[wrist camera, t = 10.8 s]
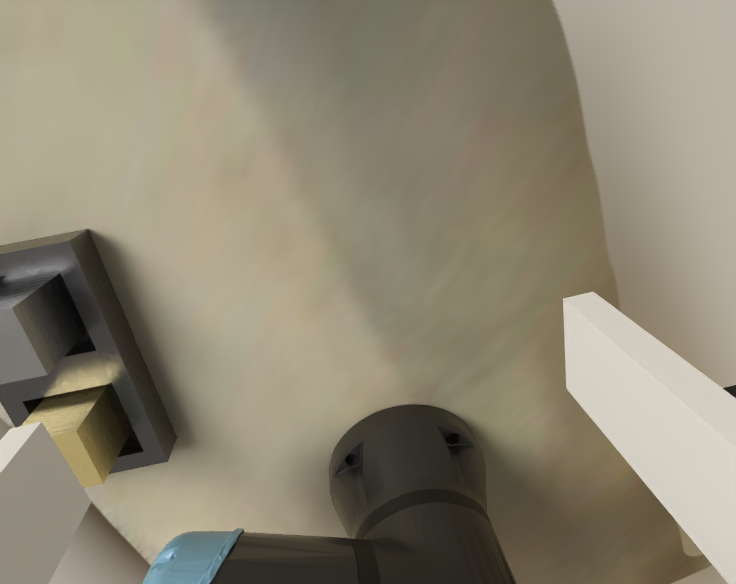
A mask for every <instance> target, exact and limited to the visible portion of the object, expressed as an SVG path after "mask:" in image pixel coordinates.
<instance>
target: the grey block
mask: <svg viewBox="0 0 736 584" xmlns="http://www.w3.org/2000/svg"><path fill="white" fill-rule="evenodd" d="M87 332H88V331H87V329H86V327H85V325H84V323H83V320H82V318H81V316H80V314H79V312H78V310H77V308H76V306H75V303H74V301H73V299H72V297H71V295H70V293H69V291H68V288H67V286H66V284H65V282H64V280H63V278H62V276H61V273H60V271H59V270H57V271H52V272H47V273H42V274H37V275H31V276H26V277H21V278H16V279H11V280H6V281H1V282H0V384H5V383H10V382H15V381H20V380H25V379H30V378H35V377H40V376H45V375H48V374H49V373H50V372H51V371H52V369H53V368H54V367H55V366H56V365H57V364H58V363H59V362H60V361H61V360H62V359H63V358H64V356H65V355H66V354H67V353H68V352H69V351H70V350H71V349H72V348H73V347H74V346H75V345H76V343H77V342H78V341H79V340H80V339H81V338H82V337H83V336H84V335H85V334H86V333H87Z"/></svg>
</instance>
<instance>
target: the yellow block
mask: <svg viewBox="0 0 736 584" xmlns="http://www.w3.org/2000/svg"><path fill="white" fill-rule="evenodd" d="M41 421H42V423H43V425H44V426H45V428H46V429H47V431H48V433H49V434H50V436H51V437H52V439H53V441H54V442H55V444H56V445H57V447H58V449H59V450H60V452H61V453H62V455H63V457H64V458H65V460H66V461H67V463H68V465H69V466H70V468H71V469H72V471H73V473H74V474H75V476H76V477H77V479H78V481H79V482H80V484H81V485H82V487H83V488H85V487H90V486H95V485H100V484H104V482H105V480H106V478H107V476H108V474H109V472H110V470H111V468H112V466H113V465H114V463H115V461H116V459H117V457H118V455H119V453H120V451H121V449H122V448H123V446H124V444H125V442H126V440H127V438H128V436H129V434H130V432H131V430H132V429H133V427H132V425H131V423H130V421H129V419H128V417H127V414H126V412H125V410H124V408H123V406H122V404H121V402H120V400H119V397H118V395H117V393H116V391H115V389H114V387H113V385H112V383H111V384H106V385H101V386H96V387H91V388H86V389H81V390H76V391H71V392H67V393H62V394H57V395H52V396H47V397H45V398H44V400H43V401H42V402H41V403H40V404H39V405H38V407H37V408H36V409H35V410H34V411H33V412H32V414H31V415H30V416H29V417H28V418H27V419H26V421H25V422H24V423H23V424H22V425H21V426H24V425H29V424H33V423H37V422H41Z"/></svg>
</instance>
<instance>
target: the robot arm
mask: <svg viewBox="0 0 736 584" xmlns="http://www.w3.org/2000/svg"><path fill="white" fill-rule="evenodd" d="M563 309H564V336H565V362H566V388H567V390H568V391H569V392H570V393H571V394H572V396H573V397H574V398H575V399H576V400H577V402H578V403H579V404H580V405H581V407H582V408H583V409H584V410H585V411H586V413H587V414H588V415H589V416H590V417H591V419H592V420H593V421H594V422H595V423H596V425H597V426H598V427H599V428H600V429H601V431H602V432H603V433H604V434H605V435H606V437H607V438H608V439H609V440H610V442H611V443H612V444H613V445H614V446H615V448H616V449H617V450H618V451H619V452H620V454H621V455H622V456H623V457H624V458H625V460H626V461H627V462H628V463H629V464H630V466H631V467H632V468H633V469H634V470H635V472H636V473H637V474H638V475H639V477H640V478H641V479H642V480H643V481H644V483H645V484H646V485H647V486H648V487H649V489H650V490H651V491H652V492H653V493H654V495H655V496H656V497H657V498H658V499H659V501H660V502H661V503H662V504H663V505H664V507H665V508H666V509H667V510H668V512H669V513H670V514H671V515H672V516H673V518H674V519H675V520H676V521H677V522H678V524H679V525H680V526H681V527H682V528H683V530H684V531H685V532H686V533H687V534H688V536H689V537H690V538H691V539H692V541H693V542H694V543H695V544H696V545H697V546H698V548H699V549H700V550H701V551H702V553H703V554H704V555H705V556H706V557H707V559H708V560H709V561H710V562H711V563H712V565H713V566H714V567H715V568H716V569H717V571H718V572H719V573H720V574H721V575H722V576H723V578H724V579H725V580H726V581H727V583H728V584H736V385H734V386H730V387H726V388H721V387H720V386H719V385H717V384H716V383H715V382H713V381H712V380H711V379H709V378H708V377H706V376H705V375H704V374H703V373H701V372H700V371H699V370H697V369H696V368H695V367H693V366H692V365H691V364H689V363H688V362H687V361H685V360H684V359H683V358H681V357H680V356H679V355H677V354H676V353H674V352H673V351H672V350H670V349H669V348H668V347H666V346H665V345H664V344H662V343H661V342H660V341H658V340H657V339H656V338H654V337H653V336H652V335H650V334H649V333H648V332H646V331H645V330H644V329H642V328H641V327H640V326H638V325H637V324H636V323H634V322H633V321H632V320H630V319H629V318H628V317H626V316H625V315H624V314H622V313H621V312H620V311H618V310H617V309H616V308H614V307H613V306H612V305H610V304H609V303H608V302H606V301H605V300H604V299H602V298H601V297H600V296H598V295H597V294H596V293H594V292H589V293H585V294H581V295H577V296H572V297H568V298H564V299H563ZM329 480H330V494H331V498H332V502H333V505H334V507H335V509H336V512H337V514H338V516H339V518H340V520H341V522H342V524H343V526H344V528H345V530H346V532H347V534H348V536H349V538H350V539H349V538H336V537H318V536H301V535H283V534H266V533H249V532H244V529H239V528H238V529H236V530H234V531H192V532H187V533H183V534H181V535H179V536H177V537H175V538H174V539H172V540H171V541H170V542H169V543H168V544H167V545H166V546H165V547H164V548H163V549H162V550H161V552H160V553H159V555H158V556H157V558H156V559H155V561H154V562H153V564H152V566H151V568H150V569H149V571H148V573H147V575H146V577H145V579H144V581H143V583H142V584H516V582H515V579H514V577H513V574H512V572H511V570H510V567H509V565H508V563H507V560H506V558H505V555H504V553H503V551H502V548H501V546H500V544H499V541H498V539H497V536H496V534H495V532H494V529H493V527H492V525H491V522H490V520H489V518H488V515H487V502H486V471H485V463H484V459H483V455H482V452H481V450H480V448H479V446H478V444H477V441H476V439H475V437H474V435H473V433H472V432H471V430H470V429H469V428H468V426H467V425H466V424H465V423H464V422H463V421H461V420H460V419H459V418H457V417H456V416H454V415H453V414H451V413H449V412H447V411H444V410H442V409H438V408H435V407H430V406H424V405H404V406H397V407H392V408H388V409H385V410H382V411H379V412H376V413H374V414H372V415H370V416H368V417H366V418H364V419H363V420H361V421H360V422H358V423H357V424H356V425H354V426H353V427H352V428H351V429H350V430H349V431H348V432H347V433H346V434H345V435H344V436H343V437H342V438H341V440H340V441H339V443H338V444H337V446H336V448H335V450H334V452H333V454H332V457H331V461H330V467H329ZM90 503H91V500H90V498H89V496H88V495H87V493H86V492H85V490H84V488H83V487H82V485H81V484H80V482H79V481H78V479H77V477H76V476H75V474H74V473H73V471H72V469H71V468H70V466H69V465H68V463H67V461H66V460H65V458H64V457H63V455H62V453H61V452H60V450H59V449H58V447H57V445H56V444H55V442H54V441H53V439H52V437H51V436H50V434H49V433H48V431H47V429H46V428H45V426H44V425H43V423H42V421H41V422H37V423H33V424H29V425H24V426H20V427H16V428H12V429H10V430H9V431H8V432H7V434H6V435H5V436H4V437H3V438H2V439H1V440H0V584H48V583H49V581H50V579H51V577H52V575H53V573H54V571H55V570H56V568H57V566H58V564H59V562H60V560H61V558H62V556H63V555H64V553H65V551H66V549H67V547H68V545H69V543H70V541H71V539H72V537H73V536H74V533H75V532H76V530H77V528H78V526H79V524H80V522H81V520H82V518H83V517H84V514H85V513H86V511H87V509H88V507H89V505H90Z"/></svg>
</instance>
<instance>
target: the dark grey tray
mask: <svg viewBox="0 0 736 584" xmlns="http://www.w3.org/2000/svg"><path fill="white" fill-rule="evenodd" d="M57 270H59V271H60V273H61V276H62V278H63V280H64V282H65V284H66V286H67V288H68V291H69V293H70V295H71V297H72V299H73V301H74V303H75V306H76V308H77V310H78V312H79V314H80V316H81V318H82V320H83V323H84V325H85V327H86V329H87V331H88V332H87V333H86V334H85V335H84V336H83V337H82V338H81V339H80V340H79V341H78V342H77V343H76V345H75V346H74V347H73V348H72V349H71V350H70V351H69V352H68V353H67V354H66V355H65V356H64V358H63V359H62V360H61V361H60V362H59V363H58V364H57V365H56V366H55V367H54V368H53V369H52V371H51V372H50V373H49V374H48V375H45V376H40V377H35V378H30V379H25V380H20V381H15V382H10V383H5V384H0V402H1V404H2V405H3V407H4V409H5V410H6V412H7V414H8V415H9V417H10V419H11V420H12V422H13V424H14V425H15V427H20V426H21V425H22V424H23V423H24V422H25V421H26V419H27V418H28V417H29V416H30V415H31V414H32V412H33V411H34V410H35V409H36V408H37V407H38V405H39V404H40V403H41V402H42V401H43V400H44V398H45V397H47V396H52V395H57V394H62V393H67V392H71V391H76V390H81V389H86V388H91V387H96V386H101V385H106V384H111V383H112V385H113V387H114V389H115V391H116V393H117V395H118V397H119V400H120V402H121V404H122V406H123V408H124V410H125V412H126V414H127V417H128V419H129V421H130V423H131V425H132V427H133V429H132V430H131V432H130V434H129V436H128V438H127V440H126V442H125V444H124V446H123V448H122V449H121V451H120V453H119V455H118V457H117V459H116V461H115V463H114V465H113V466H112V468H111V470H110V472H109V474H111V473H115V472H120V471H125V470H130V469H134V468H139V467H144V466H149V465H153V464H158V463H163V462H168V459H169V457H170V454H171V452H172V449H173V446H174V444H175V441H176V439H177V437H176V435H175V433H174V430H173V428H172V426H171V423H170V421H169V419H168V416H167V414H166V412H165V409H164V407H163V404H162V402H161V400H160V397H159V395H158V393H157V390H156V388H155V386H154V383H153V381H152V379H151V376H150V374H149V372H148V369H147V367H146V364H145V362H144V360H143V357H142V355H141V353H140V350H139V348H138V346H137V343H136V341H135V339H134V336H133V334H132V332H131V329H130V327H129V325H128V322H127V320H126V317H125V315H124V313H123V310H122V308H121V306H120V303H119V301H118V299H117V296H116V294H115V292H114V289H113V287H112V285H111V282H110V280H109V278H108V275H107V273H106V270H105V268H104V266H103V263H102V261H101V259H100V256H99V254H98V252H97V249H96V247H95V245H94V242H93V240H92V238H91V235H90V233H89V230H88V229H85V230H80V231H75V232H70V233H65V234H59V235H54V236H49V237H44V238H39V239H34V240H29V241H23V242H18V243H13V244H8V245H3V246H0V282H1V281H6V280H11V279H16V278H21V277H26V276H31V275H37V274H42V273H47V272H52V271H57Z"/></svg>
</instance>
